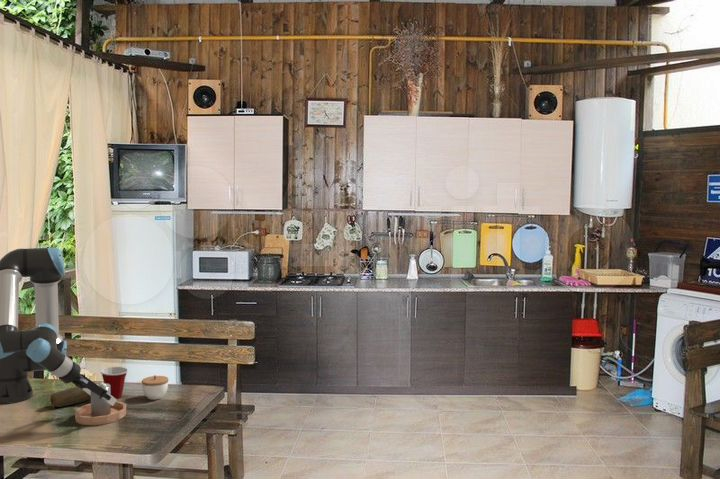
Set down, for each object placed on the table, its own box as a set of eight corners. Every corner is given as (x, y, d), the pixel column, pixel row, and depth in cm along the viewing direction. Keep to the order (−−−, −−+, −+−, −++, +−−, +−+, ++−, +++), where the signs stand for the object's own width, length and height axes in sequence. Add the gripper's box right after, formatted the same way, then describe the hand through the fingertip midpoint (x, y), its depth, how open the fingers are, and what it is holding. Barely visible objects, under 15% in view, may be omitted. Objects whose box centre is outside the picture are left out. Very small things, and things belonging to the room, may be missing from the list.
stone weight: (86, 397, 251) (85, 382, 251) (93, 401, 247) (92, 386, 246) (48, 406, 240) (48, 390, 240) (55, 411, 235) (54, 394, 235)
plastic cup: (118, 402, 246) (118, 374, 245) (95, 400, 248) (94, 372, 247) (133, 394, 256) (133, 366, 255) (111, 392, 258) (110, 365, 257)
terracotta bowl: (66, 417, 228) (66, 410, 228) (111, 405, 242) (111, 397, 242) (90, 429, 217) (89, 421, 217) (135, 415, 231) (135, 407, 231)
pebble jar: (87, 414, 229) (87, 383, 228) (105, 409, 234) (104, 379, 234) (96, 418, 225) (96, 387, 224) (114, 413, 230) (113, 383, 229)
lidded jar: (174, 396, 254) (173, 374, 253) (153, 403, 245) (152, 381, 244) (157, 391, 260) (157, 370, 259) (136, 398, 251) (136, 376, 250)
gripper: (42, 371, 224) (82, 400, 236) (74, 385, 208) (115, 414, 221) (56, 355, 227) (95, 384, 240) (89, 367, 212) (128, 397, 225)
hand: (105, 398), depth 231 cm, fingers open, 13 cm apart
